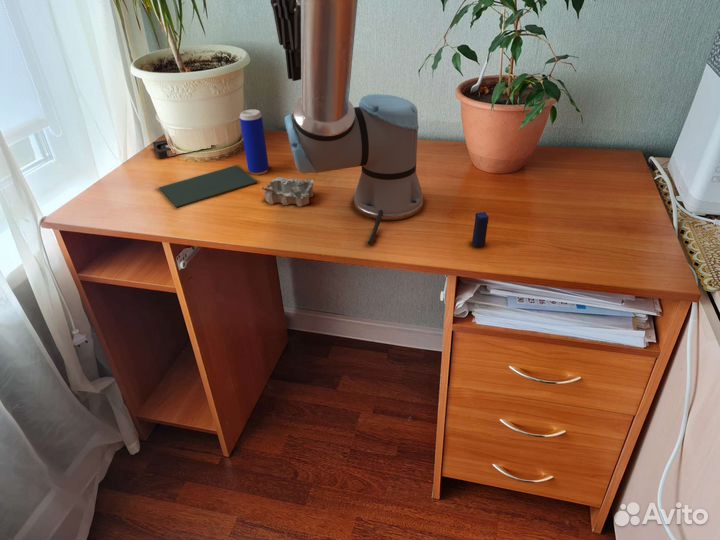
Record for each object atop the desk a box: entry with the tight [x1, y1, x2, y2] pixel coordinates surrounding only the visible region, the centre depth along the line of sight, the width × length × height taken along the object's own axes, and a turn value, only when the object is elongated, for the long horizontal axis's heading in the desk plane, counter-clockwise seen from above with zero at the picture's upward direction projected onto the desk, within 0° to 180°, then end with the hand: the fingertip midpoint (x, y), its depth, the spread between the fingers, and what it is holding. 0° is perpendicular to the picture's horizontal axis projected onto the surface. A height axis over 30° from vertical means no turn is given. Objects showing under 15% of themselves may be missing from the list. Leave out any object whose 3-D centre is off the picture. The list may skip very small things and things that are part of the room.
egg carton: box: [261, 176, 314, 207], centre depth 119 cm, size 11×8×4 cm
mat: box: [159, 165, 258, 209], centre depth 126 cm, size 20×12×1 cm, turn 126°
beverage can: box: [239, 108, 270, 176], centre depth 128 cm, size 5×5×15 cm
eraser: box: [472, 211, 490, 248], centre depth 100 cm, size 2×2×7 cm
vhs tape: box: [152, 139, 179, 160], centre depth 145 cm, size 14×8×2 cm, turn 117°
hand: (295, 78), depth 126 cm, fingers closed
